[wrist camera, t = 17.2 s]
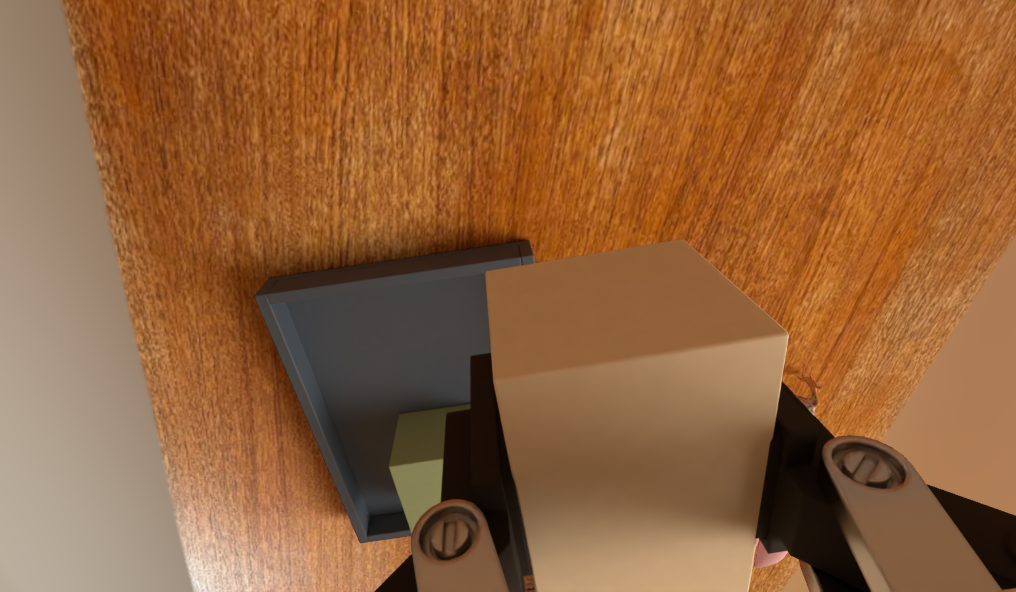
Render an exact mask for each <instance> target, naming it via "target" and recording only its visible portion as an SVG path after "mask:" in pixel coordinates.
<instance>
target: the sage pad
mask: <svg viewBox="0 0 1016 592" xmlns="http://www.w3.org/2000/svg"><path fill="white" fill-rule="evenodd" d="M467 409H471V406H470V404H466V405H459V406H452V407H445V408H438V409H432V410H425V411H418V412H411V413H404V414H399V417H398V422H397V427H396V433H395V438H394V443H393V448H392V453H391V458H390V463H389V469H390V472H391V475H392V478H393V481H394V484H395V487H396V490H397V493H398V495H399V498H400V501H401V504H402V507H403V510H404V513H405V516H406V519H407V522H408V525H409V528H410V530H411V533H412V532H413V529H414V526H415V524H416V523H417V521H418V520H419V518H420V517H421V516H422V514H424V513H425V512H426V511H427V510H428V509H429V508H431V507H432V506H434V505H436V504H438V503H440V502H441V488H442V471H443V455H444V438H445V422H446V414H447V413H449V412H455V411H461V410H467Z"/></svg>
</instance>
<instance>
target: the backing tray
mask: <svg viewBox="0 0 1016 592" xmlns="http://www.w3.org/2000/svg"><path fill="white" fill-rule="evenodd" d="M528 264H534V255H533V252H532V248H531V245H530V241H529V240H526V241H519V242H512V243H506V244H499V245H492V246H485V247H478V248H471V249H465V250H458V251H451V252H444V253H437V254H430V255H424V256H417V257H410V258H403V259H396V260H389V261H383V262H376V263H369V264H362V265H355V266H348V267H342V268H335V269H328V270H321V271H314V272H307V273H301V274H294V275H287V276H280V277H273V278H269V279H268V280H267V281H266V283H265V284H264V285H263V286H262V287H261V289H260V290H259V291H258V292H257V293H256V294H255V295H254V298H255V300H256V302H257V305H258V307H259V309H260V312H261V314H262V316H263V319H264V321H265V323H266V326H267V328H268V330H269V333H270V335H271V337H272V340H273V342H274V344H275V347H276V349H277V351H278V354H279V356H280V358H281V361H282V363H283V365H284V368H285V370H286V372H287V375H288V377H289V379H290V382H291V384H292V386H293V388H294V391H295V393H296V395H297V398H298V400H299V402H300V405H301V407H302V409H303V412H304V414H305V416H306V419H307V421H308V423H309V426H310V428H311V430H312V433H313V435H314V437H315V440H316V442H317V444H318V447H319V449H320V451H321V454H322V456H323V458H324V461H325V463H326V465H327V468H328V470H329V472H330V475H331V477H332V479H333V482H334V484H335V486H336V489H337V491H338V493H339V496H340V498H341V500H342V503H343V505H344V507H345V510H346V512H347V514H348V517H349V519H350V521H351V523H352V526H353V528H354V530H355V533H356V535H357V537H358V540H359V542H360V543H366V542H373V541H380V540H386V539H393V538H400V537H407V536H411V535H412V533H411V530H410V528H409V525H408V522H407V519H406V516H405V513H404V510H403V507H402V504H401V501H400V498H399V495H398V493H397V490H396V487H395V484H394V481H393V478H392V475H391V472H390V469H389V463H390V458H391V453H392V448H393V443H394V438H395V433H396V427H397V422H398V417H399V414H404V413H411V412H418V411H425V410H432V409H438V408H445V407H452V406H459V405H466V404H470V356H473V355H479V354H485V353H491V344H490V331H489V317H488V304H487V291H486V277H485V273H486V272H487V271H491V270H497V269H503V268H510V267H516V266H522V265H528Z"/></svg>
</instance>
